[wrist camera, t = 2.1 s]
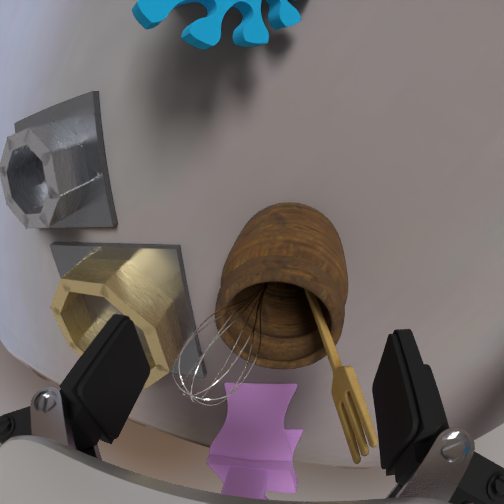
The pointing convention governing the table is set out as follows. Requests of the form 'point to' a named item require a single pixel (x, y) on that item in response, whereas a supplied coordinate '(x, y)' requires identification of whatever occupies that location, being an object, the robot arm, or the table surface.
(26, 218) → the narrow socket
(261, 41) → the gear
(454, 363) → the table surface
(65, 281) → the wide socket
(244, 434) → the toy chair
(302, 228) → the utensil holder
